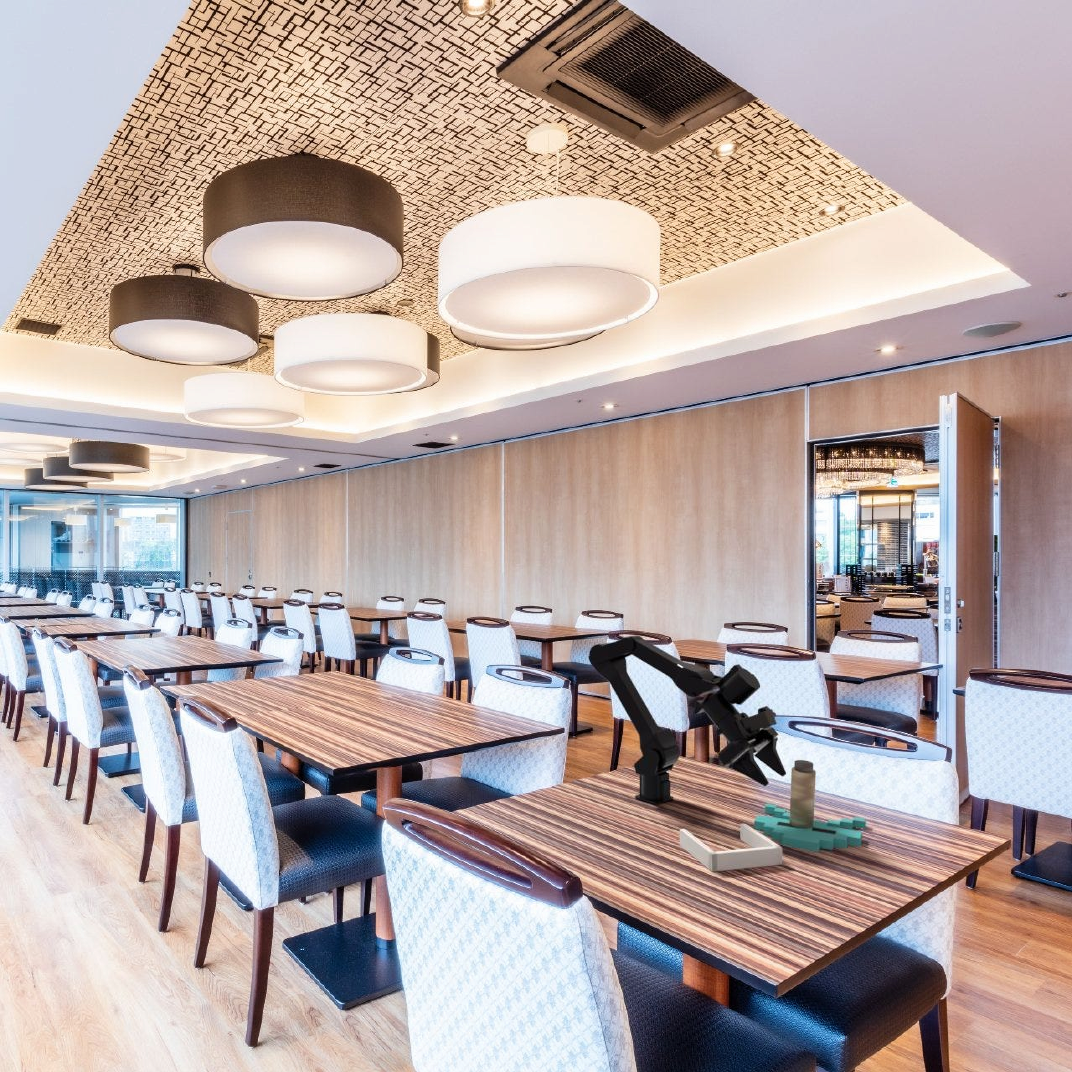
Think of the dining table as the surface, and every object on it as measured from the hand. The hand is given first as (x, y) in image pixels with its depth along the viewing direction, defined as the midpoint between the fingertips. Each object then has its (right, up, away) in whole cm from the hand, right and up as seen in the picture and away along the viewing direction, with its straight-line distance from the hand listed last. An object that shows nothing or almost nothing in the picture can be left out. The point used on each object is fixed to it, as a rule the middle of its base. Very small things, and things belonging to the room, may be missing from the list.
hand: (776, 779), depth 157 cm
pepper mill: (+4, -8, -3) cm, 10 cm away
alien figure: (+6, -11, -3) cm, 12 cm away
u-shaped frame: (-13, -9, -14) cm, 22 cm away
